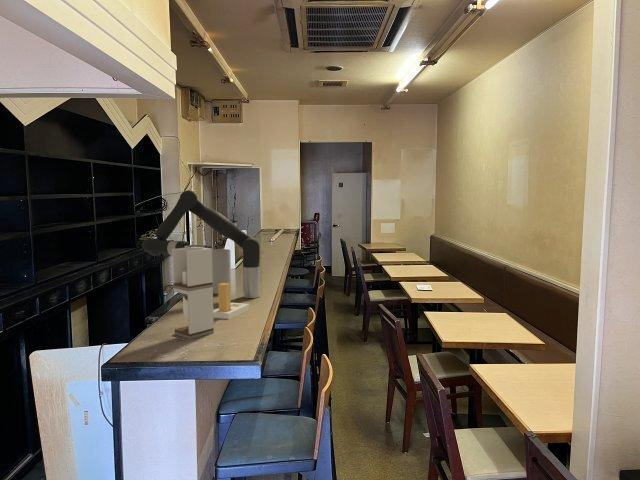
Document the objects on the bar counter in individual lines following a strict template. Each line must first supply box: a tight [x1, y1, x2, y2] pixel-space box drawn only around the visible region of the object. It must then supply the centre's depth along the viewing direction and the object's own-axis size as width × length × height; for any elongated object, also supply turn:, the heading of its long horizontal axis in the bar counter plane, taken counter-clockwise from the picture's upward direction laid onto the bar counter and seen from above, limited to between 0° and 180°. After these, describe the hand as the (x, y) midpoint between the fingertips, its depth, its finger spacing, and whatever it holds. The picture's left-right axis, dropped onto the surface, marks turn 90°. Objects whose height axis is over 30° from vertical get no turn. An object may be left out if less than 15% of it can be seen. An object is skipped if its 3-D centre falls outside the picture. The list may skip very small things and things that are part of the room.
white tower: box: [171, 247, 215, 340], centre depth 185 cm, size 11×11×35 cm
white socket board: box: [213, 302, 250, 320], centre depth 218 cm, size 20×10×3 cm, turn 162°
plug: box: [217, 283, 232, 312], centre depth 213 cm, size 4×4×15 cm
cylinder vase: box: [212, 248, 232, 295], centre depth 268 cm, size 12×12×25 cm
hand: (206, 249), depth 227 cm, fingers open, 8 cm apart
